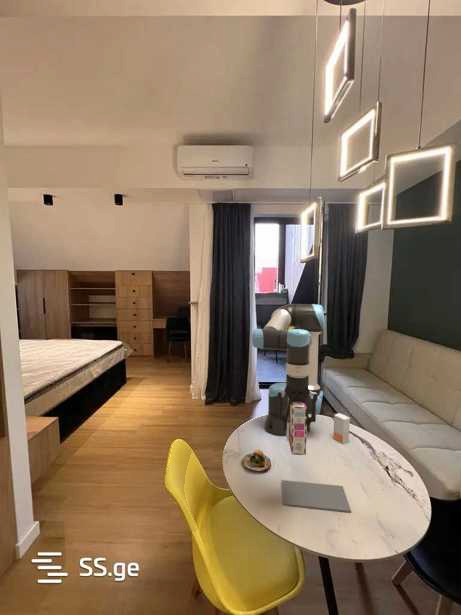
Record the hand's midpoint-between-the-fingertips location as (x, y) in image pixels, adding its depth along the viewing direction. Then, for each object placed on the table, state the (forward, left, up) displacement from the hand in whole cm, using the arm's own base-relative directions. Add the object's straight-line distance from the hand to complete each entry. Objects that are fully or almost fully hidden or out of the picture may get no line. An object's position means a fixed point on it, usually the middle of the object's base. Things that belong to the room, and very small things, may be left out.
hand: (296, 439), depth 102 cm
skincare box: (-40, +25, -21) cm, 51 cm away
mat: (0, +7, -20) cm, 21 cm away
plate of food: (-15, -14, -21) cm, 30 cm away
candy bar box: (0, 0, -2) cm, 3 cm away
